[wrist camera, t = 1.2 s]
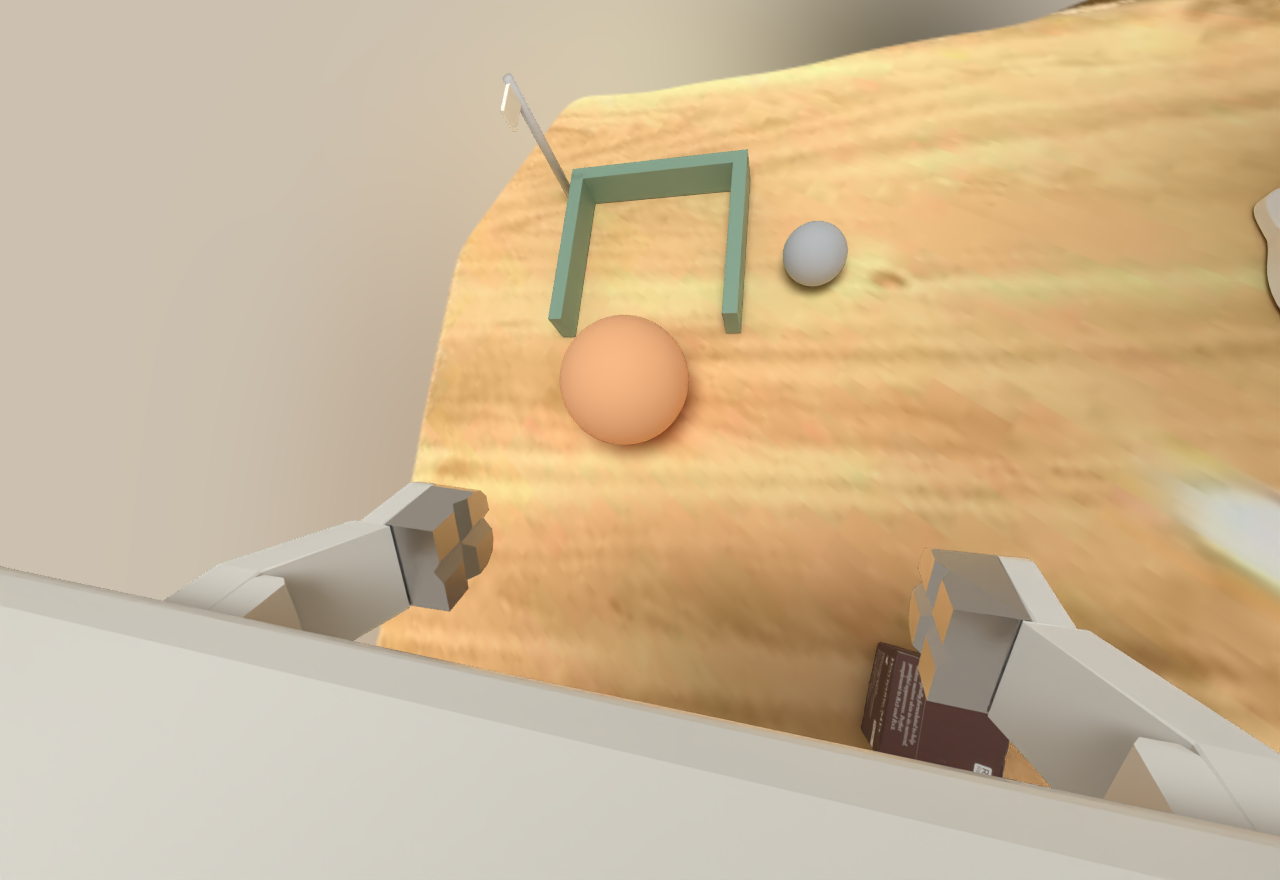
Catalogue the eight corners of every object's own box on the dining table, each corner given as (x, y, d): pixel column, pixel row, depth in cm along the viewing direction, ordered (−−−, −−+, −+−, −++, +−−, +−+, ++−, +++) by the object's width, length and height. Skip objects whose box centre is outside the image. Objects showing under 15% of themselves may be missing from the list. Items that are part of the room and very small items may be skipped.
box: (877, 639, 38) (896, 647, 31) (975, 669, 36) (1018, 685, 29) (859, 731, 36) (875, 760, 30) (959, 767, 35) (1000, 808, 28)
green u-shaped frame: (740, 333, 47) (721, 228, 34) (547, 337, 51) (466, 247, 39) (750, 178, 51) (736, 32, 38) (570, 196, 56) (504, 72, 43)
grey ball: (814, 235, 47) (816, 195, 43) (857, 269, 45) (865, 231, 41) (770, 273, 47) (768, 238, 43) (812, 308, 46) (815, 275, 41)
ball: (648, 328, 49) (615, 264, 40) (722, 403, 45) (705, 352, 36) (565, 401, 49) (512, 354, 40) (631, 482, 45) (591, 451, 36)
